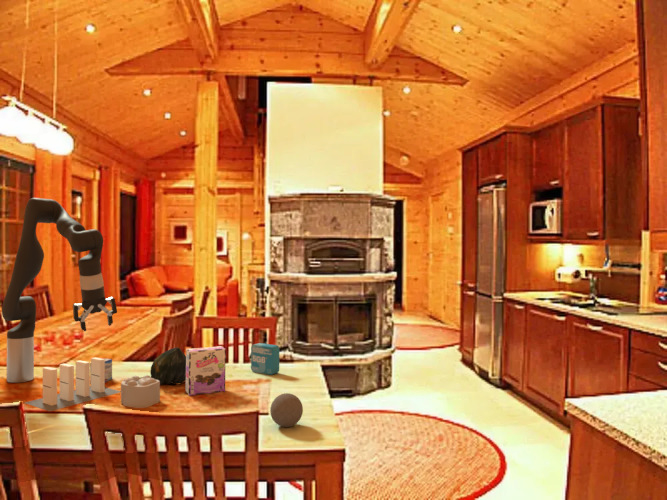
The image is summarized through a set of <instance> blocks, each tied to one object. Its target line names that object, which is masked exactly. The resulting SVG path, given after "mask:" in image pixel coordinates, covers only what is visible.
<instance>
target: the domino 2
mask: <svg viewBox="0 0 667 500" xmlns="http://www.w3.org/2000/svg"><path fill="white" fill-rule="evenodd" d="M74 378H75V366H74V365H73V364H67V363H61V364H59V394H60V399H63V400H67V401H71V400H74V390H75V379H74Z"/></svg>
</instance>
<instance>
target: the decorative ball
mask: <svg viewBox="0 0 667 500" xmlns="http://www.w3.org/2000/svg"><path fill="white" fill-rule="evenodd" d="M302 403H303V402H302V401H301V399H299V397H298V396H296V395H294V394H293V393H287V392H286V393H281V394H279V395H277V396H276V397H275V398H274V399H273V401H272V402H271V405H270V409H269V411H270V416H271V418H272V420H273V422H274V423H275V424H276V425H278V426H279V427H283V428H290V427H293V426H294V425H297V424H298V423H299V421H300V420H301V418H302V416H303V412H304V408H303V404H302Z"/></svg>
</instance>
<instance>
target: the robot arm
mask: <svg viewBox="0 0 667 500" xmlns="http://www.w3.org/2000/svg"><path fill="white" fill-rule="evenodd" d="M38 223H41V224H56V225H55V226H56V230H57V232H58V234H60V235H61V237H63V238H65V239H66V240H67V241H68V243H69V245H70V248H71V249H72V251H74V252H75V253H76V252H77V253H85V252H88V253H87V254H86V255H84V256H83V257H81V258H79V259H78V261H77V262H78V264H77V265H78V272H79V286H80V293H81V302H80V303H73V304H72V315H73V320H74V321H75V322H79V323H80V329H81V330H82V331H83V332H86V331H87V325H86V324H87V323H86V319H87V317H88V316H89V315H90V314H96V313H101V312H104V313H105V314H106V317H107V319H106V320H107V325H108V326H112V324H113V323H114V322H113V321H114V320H113V315H115V314H117V313H118V310H117V309H118V308H117V304H116V303H117V302H116V299H115V298H114V296H111V295H110V296H109V297H108V298H106V293H105V286H104V284H105V283H104V278H103V274H102V266H101V265H102V264H101V259H102V253H103V252H102V251H103V248H104V247H103V246H104V236H103V234H102V232H100V230H98V229H94V228H93V229H88V230H87V229H86V228H85V227H84V225H83V224H82V223H80V222H79V221H77V220H76V219H74V218H72V217H71V216H70V215H69V213H68V212H67V211H66V210H65V208H64V207H63V206H62V205H61V204H60V202H58V201H56V200H55V199H51V198H40V197H32V198H31V197H30V198H29V199H28V201H27V202H26V205H25V211H24V216H23V224H22V231H21V237H20V240H19V245H18V249H17V252H16V254H15V255H16V256H15V259H14V266H13V270H12V274H11V278H10V282H9V284H8V287H7V290H6V294H5V296H4V299H3V301H2V305H1V306H2V307H1V315H2V318H3V320H4V321H7V322H13V321H14V322H15V321H20V322H19V323H18V324H17V325H15V326H14V327H12V328H10V329H8V330H7V332H6V382H8V383H12V384H13V383H17V384H18V383H26V382H30V381H32V380H33V379H34V378H35V377H34V376H35V375H34V374H35V371H34V370H35V363H34V361H35V357H34V356H35V355H34V354H35V343H34V342H35V337H34V336H35V330H36V320H37V304H36V303H37V302H36V301H35V299H34V297H32V296H29V295H26V296H22V294H23V292H24V290H25V289H26V288H27V287H28V286H29V284H30V283H32V282H33V281H34V279H35V278H36V277H38V275H39V273H41V270H42V268H43V262H44V260H45V259H44V258H45V253H44V250H43V247H42V245H41V243H40V241H39V239H38V236H37V225H38ZM108 303H109V304H110V307H111V310H109V309H108V308H107V307H106V306H107V304H108ZM81 307H82V309H83V310H82V312H81V315H80V316H79V311H80V310H81Z"/></svg>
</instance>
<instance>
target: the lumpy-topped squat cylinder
mask: <svg viewBox="0 0 667 500" xmlns="http://www.w3.org/2000/svg"><path fill="white" fill-rule="evenodd" d="M120 391H121V392H120V402H121V405H123V406H124V407H130V408H135V409H136V408H137V409H143V408H149V407H151V406H153V405H155V404H158V403H160V402H161V401H160V397H161V384H160V381H159V380H156V379H154V378H151V375H148V374H145V375H143V376H141V377H140V376H138V375H134V376H131V377H128V378H126V379H124V380H122V381H121V383H120Z"/></svg>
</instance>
